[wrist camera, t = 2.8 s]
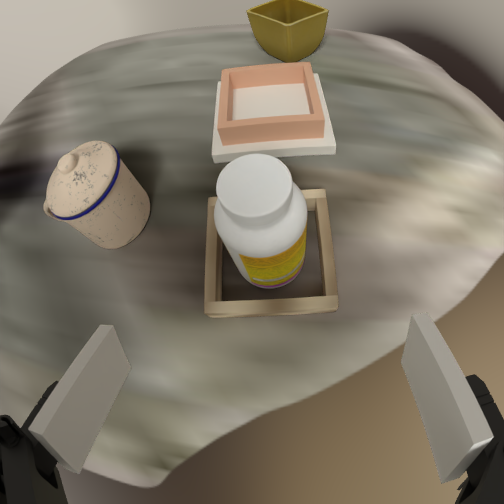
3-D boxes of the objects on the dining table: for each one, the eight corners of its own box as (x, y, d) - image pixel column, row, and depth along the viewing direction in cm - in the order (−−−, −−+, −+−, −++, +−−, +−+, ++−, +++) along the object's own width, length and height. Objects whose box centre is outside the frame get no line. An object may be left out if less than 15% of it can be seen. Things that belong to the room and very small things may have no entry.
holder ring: (211, 317, 29) (204, 313, 27) (214, 209, 33) (208, 197, 31) (335, 311, 28) (338, 306, 25) (323, 201, 32) (324, 188, 29)
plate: (214, 163, 35) (205, 138, 31) (220, 89, 40) (213, 66, 36) (335, 154, 34) (338, 127, 30) (317, 81, 39) (317, 56, 35)
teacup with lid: (153, 176, 36) (110, 111, 25) (153, 243, 33) (97, 186, 22) (75, 200, 37) (23, 151, 26) (69, 263, 33) (4, 222, 23)
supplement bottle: (319, 256, 30) (332, 182, 18) (269, 304, 29) (250, 256, 17) (271, 213, 32) (256, 126, 20) (222, 256, 31) (180, 186, 19)
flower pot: (329, 55, 41) (330, 9, 33) (291, 75, 40) (287, 25, 32) (290, 37, 44) (286, -5, 36) (252, 55, 43) (244, 10, 35)
